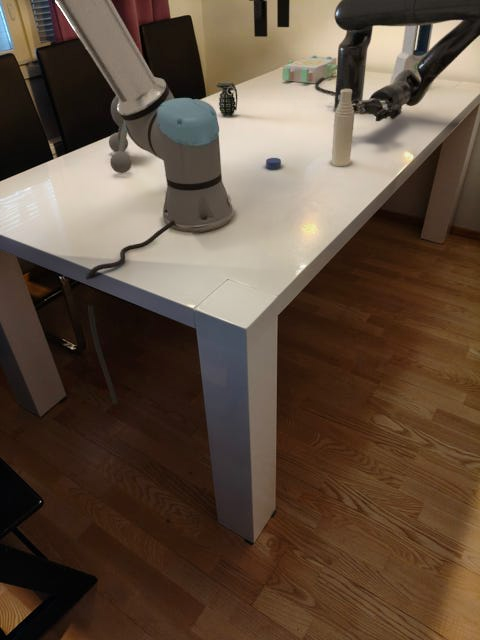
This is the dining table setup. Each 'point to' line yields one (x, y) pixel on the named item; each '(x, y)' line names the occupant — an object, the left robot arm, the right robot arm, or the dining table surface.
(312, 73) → the decorative block
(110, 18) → the left robot arm
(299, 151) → the dining table surface
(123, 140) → the molecular model
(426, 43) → the electronic device
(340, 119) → the bottle
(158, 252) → the dining table surface
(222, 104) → the grenade
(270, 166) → the cap
